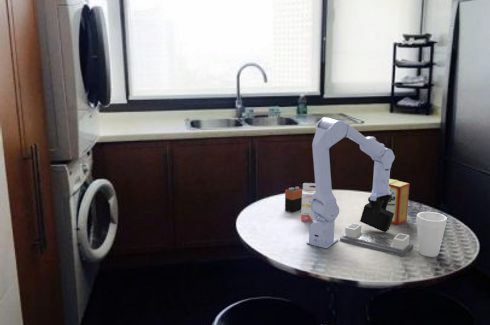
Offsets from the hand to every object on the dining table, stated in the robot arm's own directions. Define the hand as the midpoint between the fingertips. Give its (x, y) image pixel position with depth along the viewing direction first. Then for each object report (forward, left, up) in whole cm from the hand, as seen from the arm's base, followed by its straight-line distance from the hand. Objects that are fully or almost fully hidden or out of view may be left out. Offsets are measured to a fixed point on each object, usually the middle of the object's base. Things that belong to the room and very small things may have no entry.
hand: (378, 214), depth 186 cm
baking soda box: (+14, 0, -7) cm, 16 cm away
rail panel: (-12, -4, -7) cm, 14 cm away
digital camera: (0, +1, -5) cm, 5 cm away
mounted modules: (-12, -4, -5) cm, 14 cm away
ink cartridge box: (-4, +26, -7) cm, 27 cm away
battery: (+2, +38, -7) cm, 39 cm away
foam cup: (-9, -21, -7) cm, 24 cm away
